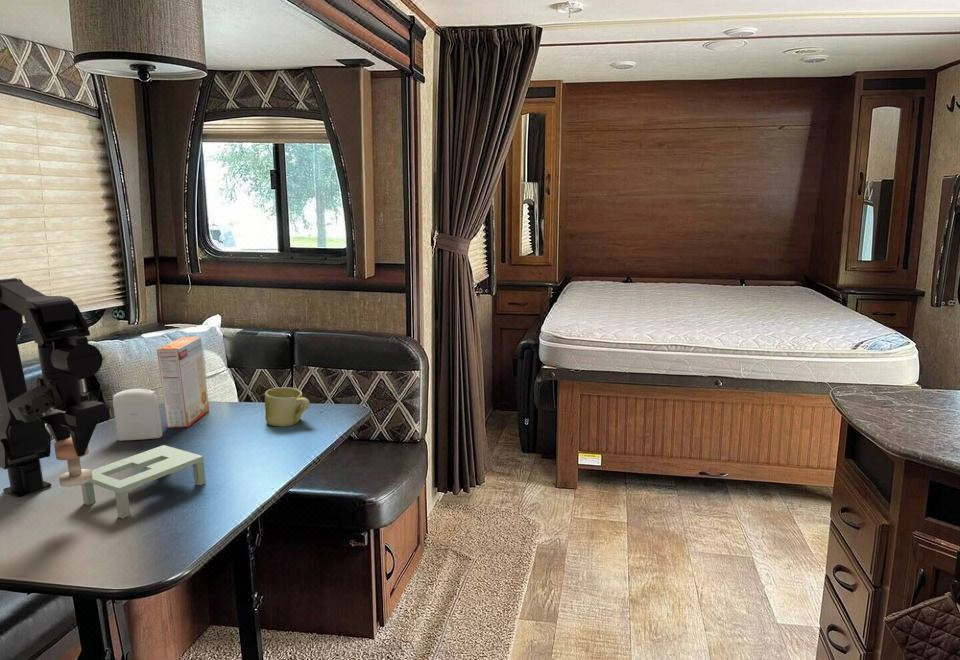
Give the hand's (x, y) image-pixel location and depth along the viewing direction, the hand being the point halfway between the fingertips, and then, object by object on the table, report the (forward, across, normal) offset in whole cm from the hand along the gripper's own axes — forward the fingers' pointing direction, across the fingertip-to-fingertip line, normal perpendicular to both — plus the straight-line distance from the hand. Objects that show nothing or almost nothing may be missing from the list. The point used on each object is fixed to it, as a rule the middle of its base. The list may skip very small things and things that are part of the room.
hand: (72, 453), depth 129 cm
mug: (+13, -8, +58) cm, 60 cm away
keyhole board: (+13, 0, +13) cm, 18 cm away
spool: (+5, 0, 0) cm, 5 cm away
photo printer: (+13, -32, +32) cm, 47 cm away
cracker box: (+13, -34, +47) cm, 59 cm away
